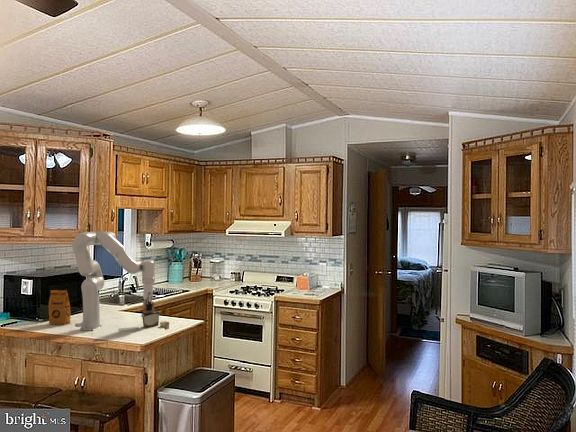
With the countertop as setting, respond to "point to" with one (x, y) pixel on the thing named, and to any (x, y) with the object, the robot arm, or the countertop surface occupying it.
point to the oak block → (164, 324)
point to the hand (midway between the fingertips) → (148, 309)
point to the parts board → (128, 329)
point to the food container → (150, 319)
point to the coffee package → (59, 307)
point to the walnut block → (146, 307)
